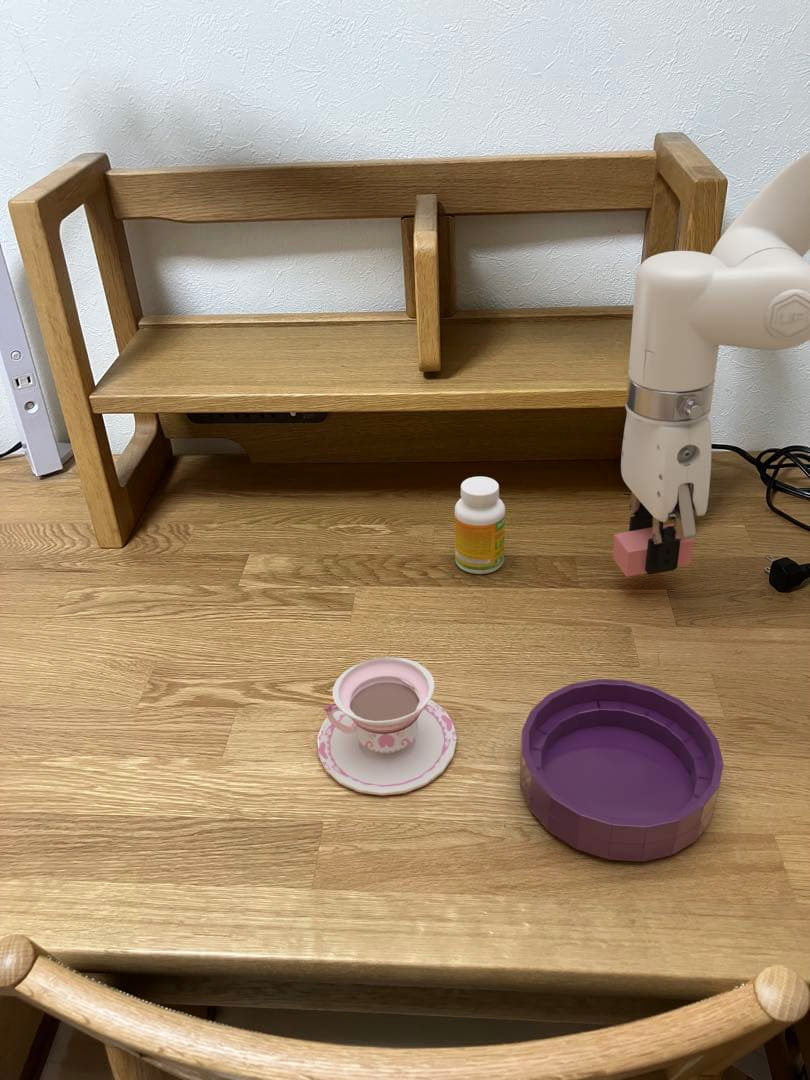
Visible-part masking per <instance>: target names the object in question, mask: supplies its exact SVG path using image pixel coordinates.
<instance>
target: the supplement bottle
mask: <svg viewBox="0 0 810 1080" xmlns="http://www.w3.org/2000/svg"><path fill="white" fill-rule="evenodd" d="M505 537H506V505H505V503H504V502H503V500H502V499H501V498H500V485H499V483H498V482H497V481H496V480H495V479H493V478H491V477H488V476H472V477H467V478H466V479H464V480H463V481H462V482H461V484H460V498H459V499H458V501H457V502H456V504H455V506H454V560H455V564H456V565H457V566H458V568H459V569H461V570H462V571H463V572H466V573H469V574H474V575H485V574H486V575H487V574H490V573H494V572H495V571H498V570H499V569H500V568H501V567H502V566H503V565H504V561H505Z"/></svg>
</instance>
